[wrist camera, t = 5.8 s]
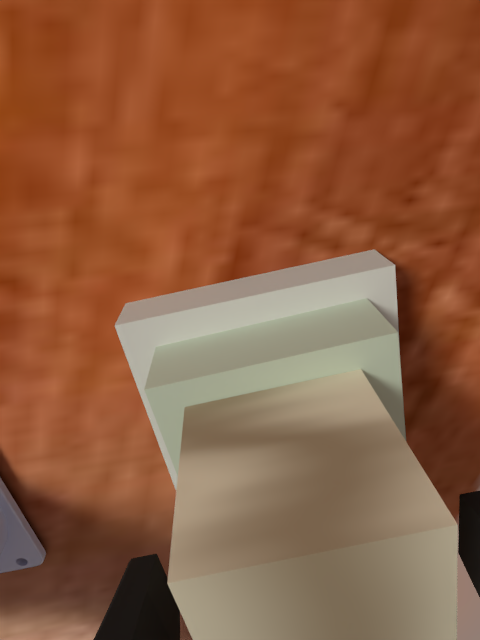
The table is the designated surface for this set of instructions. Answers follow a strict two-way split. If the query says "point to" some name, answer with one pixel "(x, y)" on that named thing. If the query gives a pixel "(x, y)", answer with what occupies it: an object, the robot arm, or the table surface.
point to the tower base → (250, 309)
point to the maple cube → (309, 521)
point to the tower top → (275, 362)
